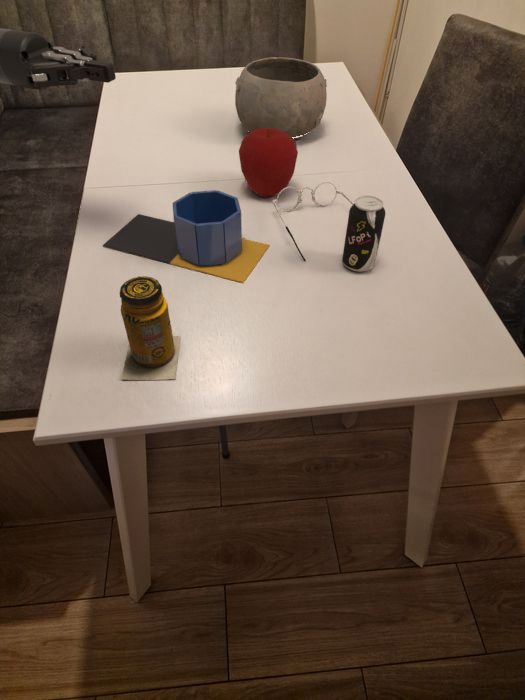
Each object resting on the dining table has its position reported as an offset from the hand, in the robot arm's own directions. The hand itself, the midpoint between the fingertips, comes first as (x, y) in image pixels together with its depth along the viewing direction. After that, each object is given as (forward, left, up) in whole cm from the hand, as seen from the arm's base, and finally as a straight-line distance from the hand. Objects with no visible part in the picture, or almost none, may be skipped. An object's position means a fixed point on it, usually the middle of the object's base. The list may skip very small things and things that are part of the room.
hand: (111, 73), depth 70 cm
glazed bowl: (+12, -5, -28) cm, 31 cm away
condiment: (+2, -31, -28) cm, 42 cm away
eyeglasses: (+33, 0, -28) cm, 44 cm away
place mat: (+8, -3, -28) cm, 29 cm away
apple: (+25, +16, -28) cm, 41 cm away
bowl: (+33, +47, -28) cm, 64 cm away
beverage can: (+37, -12, -28) cm, 48 cm away
